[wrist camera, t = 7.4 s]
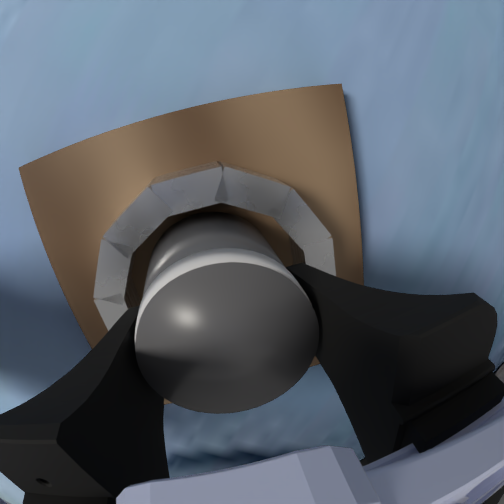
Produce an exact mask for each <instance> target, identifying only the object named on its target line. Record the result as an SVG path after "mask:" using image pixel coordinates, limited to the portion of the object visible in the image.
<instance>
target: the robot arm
mask: <svg viewBox="0 0 504 504" xmlns="http://www.w3.org/2000/svg"><path fill="white" fill-rule="evenodd" d="M286 269H287V270H288V271H289V272H290V273H291V274H292V275H293V276H294V278H295V279H296V280H297V282H298V283H299V284H300V286H301V287H302V289H303V290H304V291H305V293H306V294H307V296H308V298H309V300H310V302H311V304H312V307H313V309H314V311H315V314H316V316H317V319H318V325H319V342H318V348H317V351H316V354H315V356H316V358H317V359H318V361H319V362H320V364H321V365H322V367H323V369H324V370H325V372H326V373H327V375H328V376H329V378H330V380H331V382H332V383H333V385H334V387H335V389H336V391H337V393H338V395H339V398H340V400H341V402H342V404H343V406H344V408H345V410H346V413H347V415H348V417H349V419H350V422H351V424H352V426H353V428H354V431H355V433H356V435H357V438H358V440H359V443H360V445H361V447H362V450H363V452H364V455H365V457H366V460H367V463H368V465H365V466H363V467H362V465H361V463H360V461H359V459H358V457H357V456H356V454H355V452H354V451H353V449H351V448H344V447H336V446H328V445H323V446H318V447H313V448H308V449H303V450H298V451H293V452H290V453H287V454H283V455H280V456H276V457H273V458H269V459H265V460H262V461H258V462H254V463H250V464H245V465H241V466H237V467H232V468H227V469H222V470H217V471H212V472H207V473H201V474H195V475H188V476H182V477H174V478H170V477H169V471H168V465H167V458H166V450H165V441H164V431H163V413H164V397H162V396H161V395H159V394H158V393H157V392H156V391H155V390H154V389H153V388H152V387H151V386H150V385H149V384H148V383H147V381H146V380H145V378H144V377H143V375H142V373H141V371H140V369H139V366H138V363H137V359H136V352H135V328H136V322H137V316H138V311H139V307H140V306H136V307H132V308H129V309H128V310H127V311H126V312H125V313H124V314H123V315H122V316H121V317H120V318H119V319H118V320H117V322H116V323H115V324H114V325H113V326H112V327H111V329H110V330H109V331H108V332H107V333H106V335H105V336H104V337H103V338H102V339H101V340H100V341H99V342H98V344H97V345H96V346H95V347H94V348H93V349H92V350H91V351H90V352H89V353H88V354H87V355H86V356H85V357H84V358H83V359H82V360H81V361H80V362H79V363H78V364H77V365H76V366H75V367H74V368H73V369H72V370H70V371H69V372H68V373H67V374H66V375H65V376H63V377H62V378H61V379H59V380H58V381H57V382H55V383H54V384H53V385H51V386H50V387H49V388H47V389H46V390H44V391H43V392H41V393H40V394H38V395H37V396H35V397H33V398H32V399H30V400H28V401H27V402H25V403H23V404H21V405H19V406H17V407H15V408H13V409H11V410H9V411H7V412H5V413H3V414H0V472H1V473H3V474H4V475H5V476H6V477H7V478H8V479H9V480H11V481H12V482H13V483H14V484H15V485H17V486H18V487H19V488H20V489H21V490H23V491H24V492H25V495H24V500H23V504H481V503H483V502H484V501H485V500H487V499H488V498H489V497H490V496H492V495H493V494H494V493H495V492H496V491H498V490H499V489H500V488H501V487H502V486H503V485H504V383H503V382H502V381H501V380H500V379H499V378H498V377H497V376H496V375H495V374H494V373H493V372H492V371H494V369H495V365H494V364H493V363H492V362H491V361H490V360H489V359H488V357H489V353H490V350H491V347H492V344H493V341H494V337H495V334H496V329H497V313H496V311H495V309H494V307H492V306H491V305H490V304H488V303H487V302H486V301H484V300H483V299H482V298H480V297H479V296H478V295H476V294H475V293H465V294H453V295H417V294H406V293H397V292H391V291H385V290H380V289H376V288H371V287H367V286H363V285H360V284H357V283H354V282H350V281H347V280H345V279H342V278H339V277H336V276H334V275H331V274H329V273H326V272H324V271H321V270H319V269H317V268H314V267H312V266H309V265H307V264H304V263H299V264H295V265H292V266H288V267H286ZM0 504H7V503H6V502H4V501H3V500H2V499H1V498H0Z"/></svg>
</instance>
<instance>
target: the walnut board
mask: <svg viewBox="0 0 504 504" xmlns="http://www.w3.org/2000/svg"><path fill="white" fill-rule="evenodd" d="M214 161H217V162H218V163H219V161H221V162H224V163H228V164H231V165H234V166H238V167H241V168H244V169H248V170H251V171H254V172H257V173H260V174H264V175H267V176H270V177H273V178H276V179H278V180H280V181H281V182H283V183H285V184H287V185H288V186H290V187H291V188H293V189H294V190H295V191H296V192H297V194H298V195H299V196H300V197H301V198H302V200H303V201H304V202H305V203H306V204H307V206H308V207H309V208H310V209H311V211H312V212H313V213H314V214H315V215H316V217H317V218H318V219H319V220H320V222H321V223H322V224H323V225H324V227H325V228H326V229H327V230H328V232H329V233H330V234H331V237H332V239H333V249H334V259H335V270H336V277H339V278H342V279H345V280H347V281H350V282H354V283H357V284H360V285H363V286H364V277H363V256H362V240H361V226H360V214H359V203H358V193H357V183H356V175H355V166H354V158H353V151H352V144H351V137H350V130H349V124H348V118H347V112H346V106H345V100H344V95H343V89H342V84H331V85H320V86H311V87H302V88H294V89H286V90H279V91H272V92H266V93H260V94H254V95H248V96H243V97H237V98H232V99H227V100H222V101H217V102H213V103H208V104H204V105H199V106H195V107H191V108H187V109H183V110H179V111H175V112H171V113H167V114H164V115H160V116H156V117H153V118H149V119H146V120H143V121H139V122H136V123H133V124H130V125H126V126H123V127H120V128H117V129H114V130H111V131H108V132H105V133H102V134H100V135H97V136H94V137H91V138H88V139H86V140H83V141H80V142H78V143H75V144H73V145H70V146H68V147H65V148H63V149H60V150H58V151H55V152H53V153H50V154H48V155H46V156H43V157H41V158H39V159H37V160H34V161H32V162H30V163H28V164H26V165H23V166H21V167H19V171H20V175H21V179H22V182H23V186H24V189H25V192H26V196H27V199H28V202H29V205H30V208H31V211H32V214H33V217H34V220H35V223H36V226H37V229H38V232H39V234H40V237H41V240H42V243H43V245H44V248H45V250H46V253H47V255H48V258H49V260H50V263H51V265H52V268H53V270H54V272H55V275H56V277H57V279H58V282H59V284H60V286H61V288H62V291H63V293H64V295H65V297H66V299H67V301H68V303H69V306H70V308H71V310H72V312H73V314H74V316H75V318H76V320H77V322H78V324H79V326H80V328H81V329H82V331H83V333H84V335H85V337H86V339H87V341H88V343H89V344H90V346H91V348H92V349H93V348H94V347H95V346H96V345H97V344H98V342H99V341H100V340H101V339H102V338H103V337H104V336H105V335H106V333H107V332H108V329H107V327H106V325H105V323H104V321H103V319H102V317H101V315H100V313H99V311H98V308H97V306H96V304H95V302H94V299H95V298H93V297H94V288H95V279H96V272H97V264H98V257H99V251H100V244H101V239H102V238H103V235H104V234H105V233H106V231H107V230H108V228H109V227H110V226H111V224H112V223H113V222H114V220H115V219H116V218H117V217H118V216H119V215H120V214H121V213H122V212H123V210H124V209H125V208H126V207H127V206H128V205H129V204H130V203H131V202H132V201H133V200H134V199H135V197H136V196H137V195H138V194H139V193H140V192H141V191H142V190H143V189H144V188H145V187H146V186H147V185H148V184H149V183H150V182H151V181H152V180H153V179H155V178H156V177H157V176H161V175H164V174H168V173H171V172H175V171H179V170H183V169H186V168H190V167H194V166H198V165H202V164H206V163H210V162H214ZM203 212H224V213H229V214H233V215H235V216H238V217H241V218H242V219H244V220H246V221H248V222H249V223H251V224H252V225H253V226H255V227H256V228H257V229H258V230H259V231H260V233H261V234H262V235H263V236H264V238H265V239H266V240H267V242H268V243H269V245H270V246H271V247H272V249H273V250H274V252H275V253H276V255H277V256H278V257H279V259H280V260H281V262H282V263H283V265H284V266H285V267H288V266H292V265H293V259H292V253H291V247H290V241H289V235H288V234H287V233H286V232H285V231H284V230H283V228H282V227H281V226H280V225H279V224H278V223H277V222H276V221H275V220H274V218H273V217H271V216H268V215H264V214H261V213H257V212H254V211H250V210H247V209H243V208H240V207H236V206H232V205H229V204H225V203H218V204H214V205H210V206H206V207H202V208H199V209H195V210H191V211H187V212H183V213H180V214H176V215H172V216H169V217H167V218H166V219H165V220H164V221H163V222H162V223H161V224H160V225H159V226H158V227H157V228H156V229H155V230H154V231H153V232H152V233H151V234H150V235H149V236H148V238H147V239H146V240H145V241H144V242H143V243H142V244H141V245H140V246H139V247H138V248H137V249H136V254H135V259H134V264H133V269H132V274H131V278H132V280H133V283H134V285H135V288H136V290H137V293H138V296H139V298H140V300H141V301H142V298H143V292H144V287H145V282H146V277H147V271H148V266H149V262H150V257H151V254H152V251H153V249H154V247H155V245H156V243H157V241H158V240H159V238H160V237H161V236H162V235H163V233H164V232H165V231H166V230H167V229H168V228H170V227H171V226H172V225H173V224H175V223H176V222H178V221H179V220H181V219H183V218H186V217H188V216H191V215H194V214H197V213H203ZM318 364H320V362H319V361H318V359H317V358H316V356H315V357H314V359H313V361H312V363H311V365H310V366H309V367H312V366H315V365H318ZM170 403H172V402H170V401H168V400H167V399H165V398H164V405H165V404H170Z"/></svg>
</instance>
